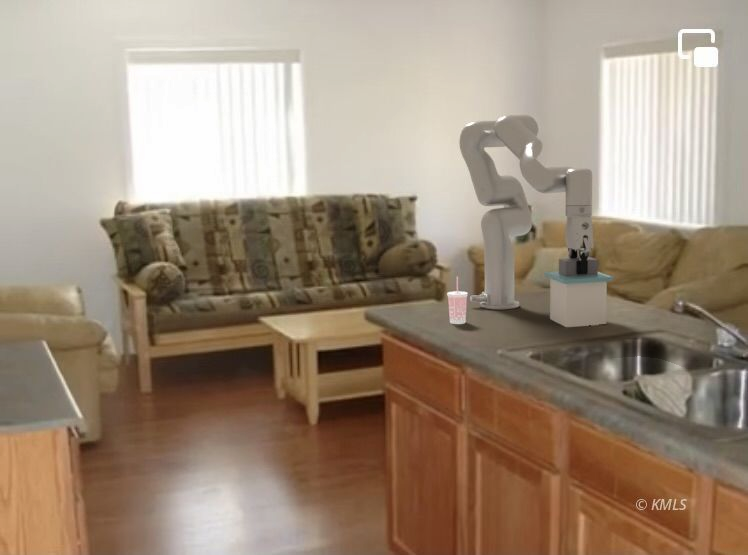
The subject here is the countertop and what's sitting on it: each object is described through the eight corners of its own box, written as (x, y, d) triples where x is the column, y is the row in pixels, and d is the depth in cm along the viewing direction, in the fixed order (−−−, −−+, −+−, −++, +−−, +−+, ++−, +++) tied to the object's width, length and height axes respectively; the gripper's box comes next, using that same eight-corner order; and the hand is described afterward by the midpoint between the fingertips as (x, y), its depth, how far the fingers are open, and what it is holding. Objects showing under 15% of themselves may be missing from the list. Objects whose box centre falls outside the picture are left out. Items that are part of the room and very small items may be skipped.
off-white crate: (566, 327, 290) (566, 282, 287) (550, 319, 302) (550, 276, 299) (606, 324, 292) (606, 280, 290) (588, 316, 304) (589, 274, 302)
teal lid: (564, 286, 286) (564, 264, 285) (544, 278, 301) (544, 257, 300) (612, 283, 289) (613, 261, 288) (591, 275, 304) (591, 254, 302)
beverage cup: (471, 321, 301) (470, 275, 299) (463, 325, 296) (462, 278, 293) (452, 319, 304) (451, 274, 301) (444, 323, 298) (443, 277, 296)
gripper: (603, 213, 284) (602, 276, 287) (578, 207, 300) (578, 267, 303) (578, 214, 282) (577, 277, 285) (555, 208, 299) (555, 269, 302)
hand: (578, 271), depth 294 cm, fingers closed on teal lid, 5 cm apart
